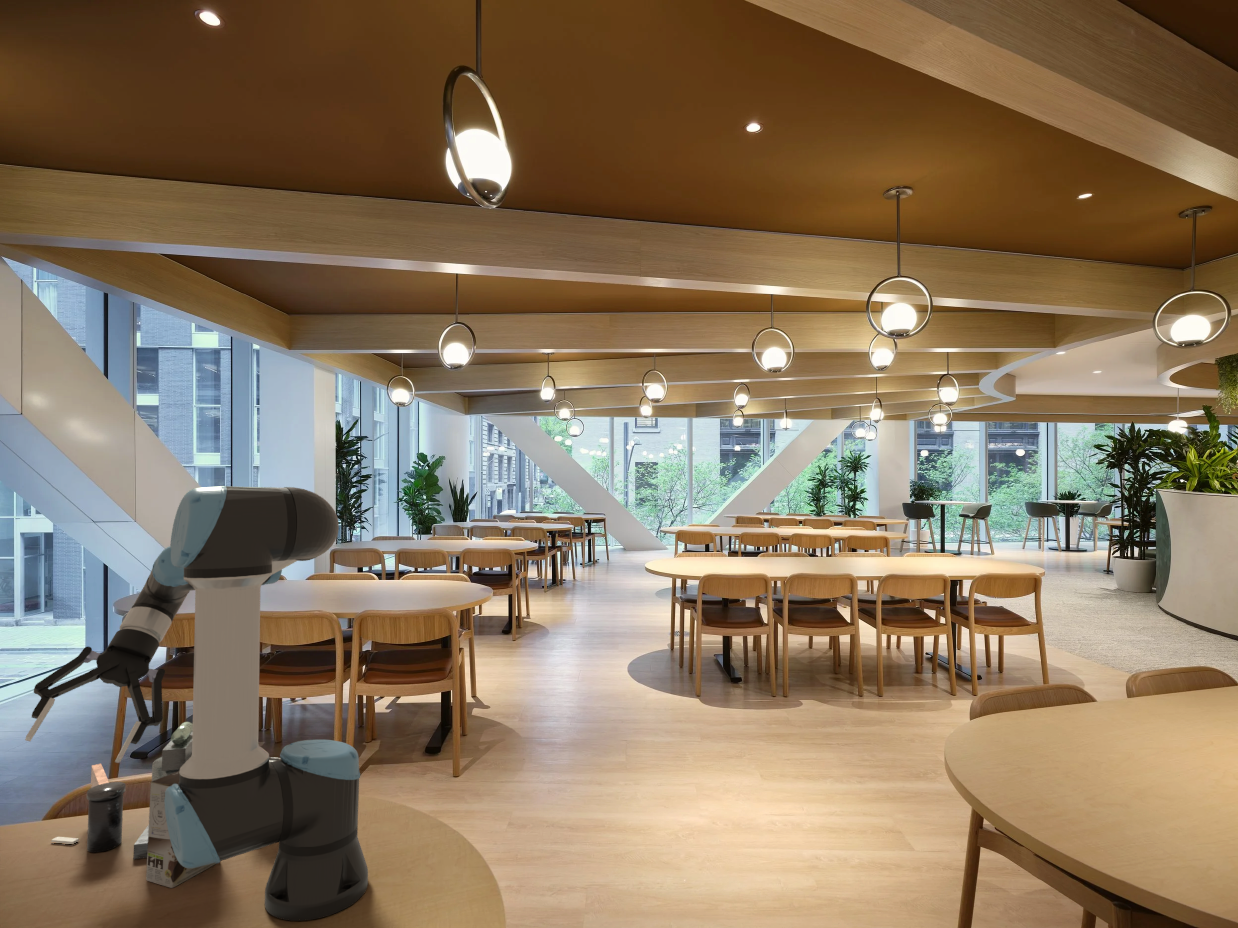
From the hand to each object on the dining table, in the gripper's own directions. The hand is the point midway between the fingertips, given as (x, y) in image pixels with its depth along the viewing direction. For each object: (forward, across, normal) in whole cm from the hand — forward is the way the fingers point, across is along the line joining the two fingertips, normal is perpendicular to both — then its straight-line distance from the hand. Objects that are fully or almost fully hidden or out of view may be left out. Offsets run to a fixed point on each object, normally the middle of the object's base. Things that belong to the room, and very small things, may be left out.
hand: (74, 750), depth 119 cm
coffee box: (+14, -24, +2) cm, 28 cm away
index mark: (+10, -6, -20) cm, 23 cm away
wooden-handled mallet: (+7, -10, -19) cm, 23 cm away
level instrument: (+8, -22, -9) cm, 25 cm away
